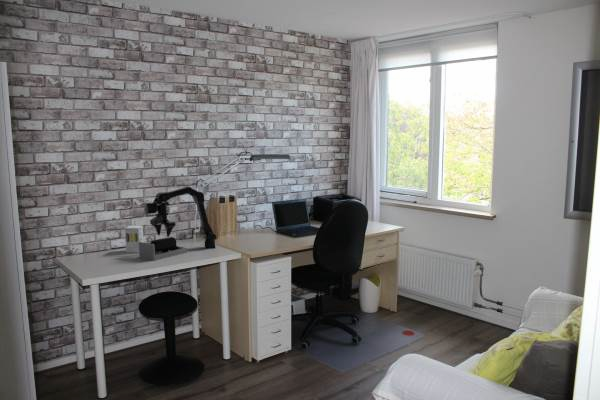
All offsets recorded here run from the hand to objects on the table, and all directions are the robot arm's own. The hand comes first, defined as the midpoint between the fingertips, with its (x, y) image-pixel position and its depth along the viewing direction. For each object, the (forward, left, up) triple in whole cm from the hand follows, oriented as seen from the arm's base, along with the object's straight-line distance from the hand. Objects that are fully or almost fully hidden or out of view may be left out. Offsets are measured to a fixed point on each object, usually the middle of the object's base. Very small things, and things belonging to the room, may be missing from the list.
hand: (163, 236), depth 319 cm
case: (0, 0, -12) cm, 12 cm away
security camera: (-1, 0, -12) cm, 12 cm away
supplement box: (+21, -15, -13) cm, 29 cm away
